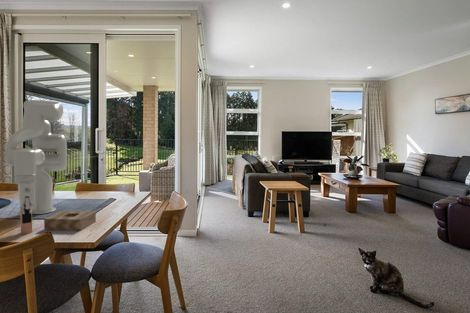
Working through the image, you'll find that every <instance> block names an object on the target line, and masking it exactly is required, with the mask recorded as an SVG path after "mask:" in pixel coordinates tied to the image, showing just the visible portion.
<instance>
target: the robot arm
mask: <svg viewBox="0 0 470 313" xmlns="http://www.w3.org/2000/svg"><path fill="white" fill-rule="evenodd" d="M22 106H23V109H24V111H23V118H22V123H21V128H20V129H19V130H17V131H16V132H14V133H13V134H11V136H10V137H9V138H8V140H7V142H6V145H5V151H4V162H5V163H6V164H7V165H10V166H13V167H14V168H13V169H14V170H13V173H14V176H13V177H14V178H13V179H14V184H17V189H18V190H17V192H18V193H17V194H18V202H19V207H20V206H21V207H22V208H23V214H22V223H31V222H32V223H33V216H32V217H31V205H32V215H42V214H50V213H53V212H55V211H57V207H55V206H54V205H53V201H54V200H53V198H54V197H53V196H54V195H53V178H52V176H51V175H50V174H49V173H48V172H62V171H65V170H66V169H67V167H68V143H67V138H66V136H65V135H64V134H60V133H52V129H51V128H52V125H51V123H50V122H57V121H59V120H61V118H62V116H63V114H64V106H63V104H62V103H61V102H59V101H51V100H49V101H48V100H39V99H37V100H36V99H30V100H26V101H25V100H24V102H23V105H22ZM30 140H31V143H32V144H31V145H32V147H31V148H30V147H29V148H28V147H26V148H24V147H21V148H17V146H18V145H20V144H22V143H23V142H25V141H30ZM45 152H56V153H45ZM24 205H25V206H24ZM24 208H25V209H24Z"/></svg>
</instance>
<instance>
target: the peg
mask: <svg viewBox="0 0 470 313" xmlns="http://www.w3.org/2000/svg"><path fill="white" fill-rule="evenodd" d="M24 206H25V205H24ZM24 209H25V208H24ZM19 210H20V212H19V213H20V216H19V217H20V221H19V222H20V234H21V235H29V234H31V233H33V221H32V222H31V223H22V214H23V208H22V207H21V206H20V205H19ZM31 217H32V218H33V214H32V205H31Z"/></svg>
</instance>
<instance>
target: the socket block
mask: <svg viewBox="0 0 470 313" xmlns="http://www.w3.org/2000/svg"><path fill="white" fill-rule="evenodd" d="M43 223H44V224H43V229H44V231H71V232H72V231H76V232H82V231H83V230H84V229H87V228H88V227H89V226H91V225H92V224H94V223H96V211H86V210H85V211H83V210H82V211H81V210H78V211H77V210H62V211H59V212H56V213H55V214H51V215H50V216H48V217H44V219H43Z"/></svg>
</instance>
